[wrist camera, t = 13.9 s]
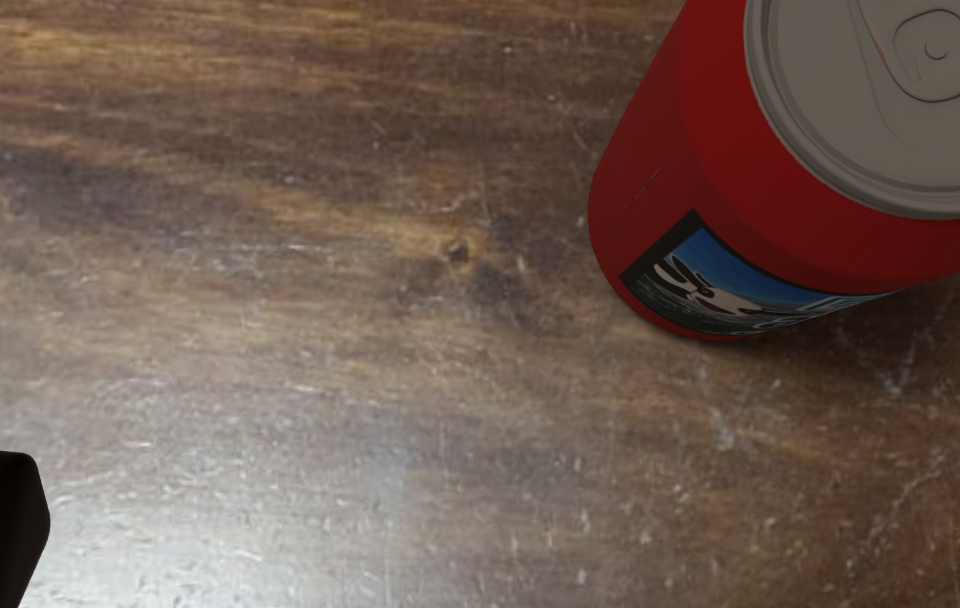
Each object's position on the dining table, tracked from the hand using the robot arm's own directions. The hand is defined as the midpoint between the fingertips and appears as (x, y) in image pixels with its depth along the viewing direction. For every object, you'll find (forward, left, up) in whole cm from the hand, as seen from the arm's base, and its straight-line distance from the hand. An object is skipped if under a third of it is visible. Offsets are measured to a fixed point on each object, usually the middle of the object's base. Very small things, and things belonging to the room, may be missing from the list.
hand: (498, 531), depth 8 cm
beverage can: (+4, -8, -15) cm, 18 cm away
